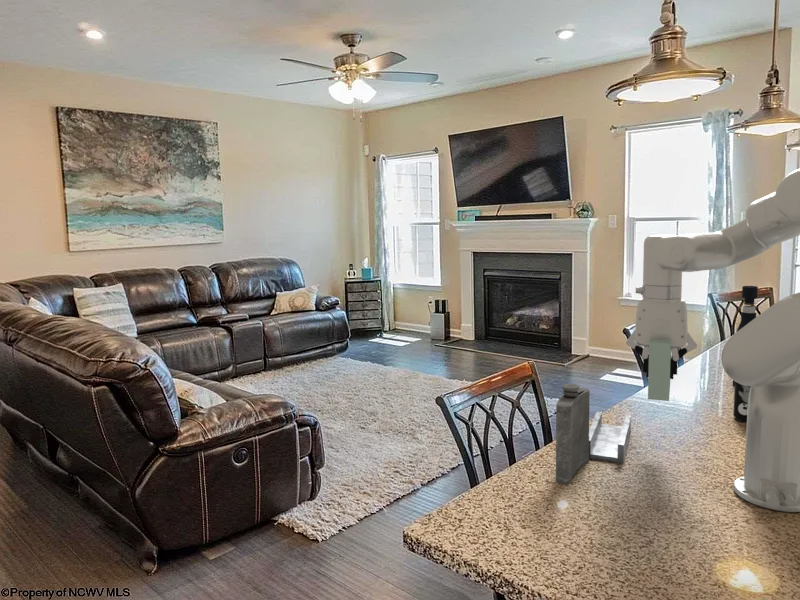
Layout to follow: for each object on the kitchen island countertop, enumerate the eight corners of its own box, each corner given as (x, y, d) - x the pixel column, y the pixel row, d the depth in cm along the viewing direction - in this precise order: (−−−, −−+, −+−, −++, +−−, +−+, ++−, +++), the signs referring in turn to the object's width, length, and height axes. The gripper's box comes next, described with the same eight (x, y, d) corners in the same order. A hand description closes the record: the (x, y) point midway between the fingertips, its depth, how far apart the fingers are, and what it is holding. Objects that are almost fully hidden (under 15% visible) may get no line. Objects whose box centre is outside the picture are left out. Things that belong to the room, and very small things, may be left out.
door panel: (669, 401, 118) (670, 343, 117) (647, 399, 120) (649, 342, 118) (670, 383, 131) (671, 331, 129) (651, 381, 132) (652, 330, 131)
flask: (549, 481, 114) (550, 393, 111) (573, 456, 125) (574, 376, 123) (567, 485, 112) (568, 396, 109) (590, 459, 123) (591, 378, 121)
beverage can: (768, 424, 140) (771, 376, 139) (738, 423, 142) (741, 376, 140) (757, 415, 147) (759, 369, 145) (729, 414, 148) (731, 369, 147)
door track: (623, 463, 121) (623, 445, 120) (584, 457, 124) (584, 440, 124) (630, 431, 139) (631, 415, 138) (596, 427, 142) (596, 411, 142)
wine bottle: (762, 387, 170) (768, 286, 166) (747, 390, 168) (752, 288, 164) (742, 382, 176) (747, 284, 172) (727, 384, 174) (732, 286, 170)
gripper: (618, 294, 123) (617, 377, 125) (707, 296, 115) (704, 384, 118) (621, 290, 129) (620, 369, 132) (705, 291, 122) (702, 375, 124)
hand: (659, 375), depth 125 cm, fingers closed on door panel, 4 cm apart
